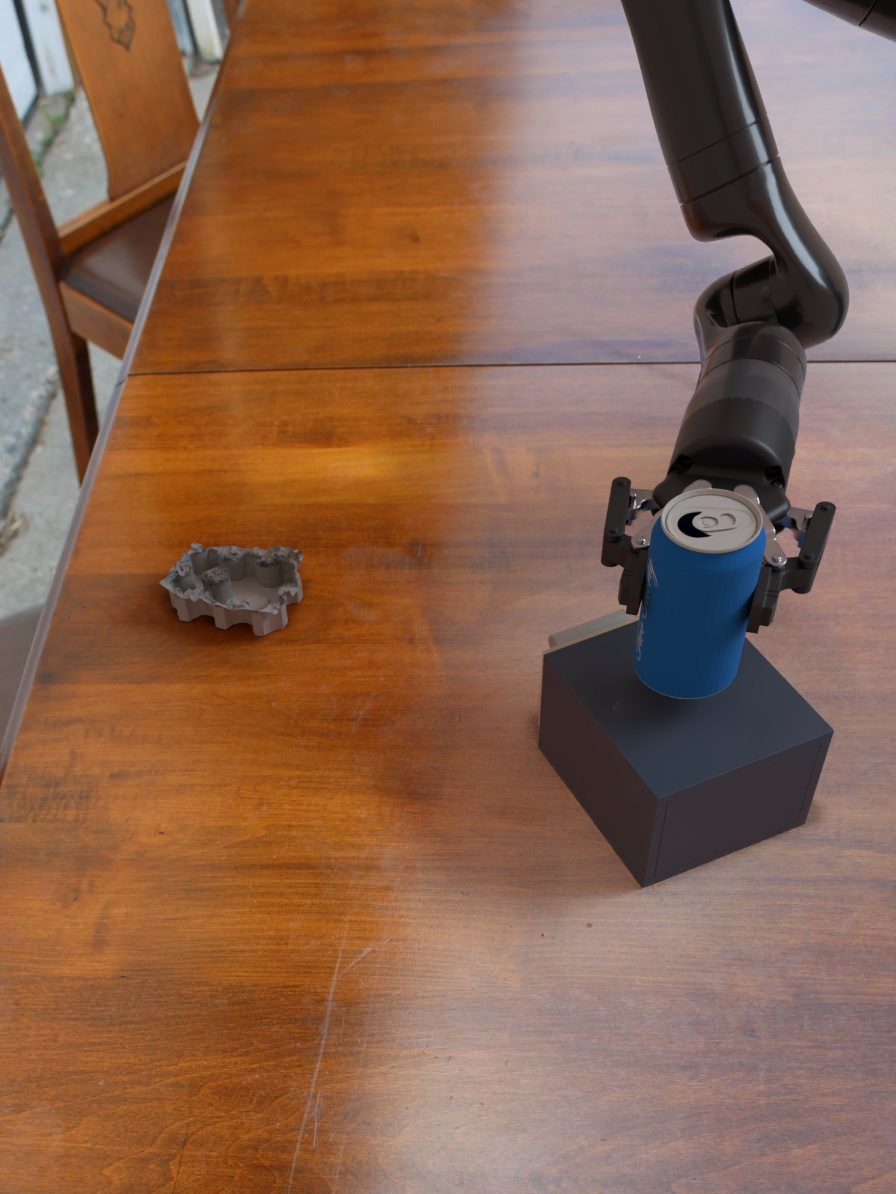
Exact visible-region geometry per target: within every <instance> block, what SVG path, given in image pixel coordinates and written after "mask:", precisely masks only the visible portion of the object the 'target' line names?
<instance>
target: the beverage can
mask: <svg viewBox="0 0 896 1194" xmlns="http://www.w3.org/2000/svg"><path fill="white" fill-rule="evenodd" d="M762 524H763V518H762V514H761V512H760V510H759V508H758V507H757V506H756V505H755V504H754V503H753V502H752V501H750V500H749V499H748V498H746V497H744V496H742V495H740V494H738V493H735V492H732V491H728V490H722V489H697V490H692V491H688V492H685V493H682V494H680V495H678V496H676V497H675V498H673V499H672V500H671V501H669V502H668V503H667V505H666V506H665V507H664V509H663V511H662V515H661V516H660V517H659V518H658V519H657V521H656V522H655V524H654V526H653V529H652V532H651V538H650V546H649V553H648V560H647V567H646V575H645V582H644V589H643V596H642V601H641V605H640V609H639V616H640V617H639V624H638V631H637V638H636V645H635V653H634V667H635V670H636V673H637V675H638V676H639V678H640V679H641V680H642V681H643V682H644V683H645V684H646V685H647V686H648V687H650V688H651V689H653V690H655V691H656V692H658V693H661V694H663V695H666V696H670V697H674V698H679V699H697V698H703V697H707V696H711V695H714V694H716V693H718V692H720V691H722V690H723V689H725V688H726V687H727V686H728V685H729V684H730V683H731V682H732V681H733V680H734V678H735V676H736V674H737V670H738V666H739V662H740V657H741V653H742V648H743V644H744V640H745V637H746V636H747V632H746V628H747V623H748V619H749V614H750V610H751V605H752V601H753V596H754V592H755V588H756V585H757V582H758V578H759V573H760V569H761V565H762V560H763V556H764V551H765V547H766V533H765V530H764V527H763V525H762Z"/></svg>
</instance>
